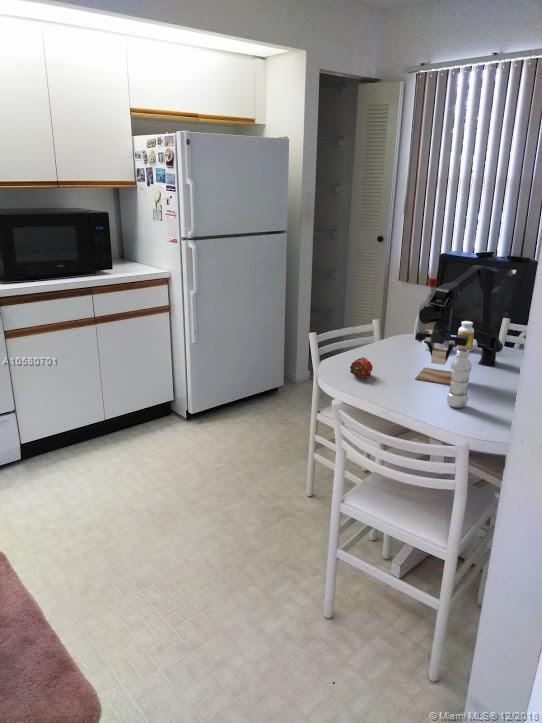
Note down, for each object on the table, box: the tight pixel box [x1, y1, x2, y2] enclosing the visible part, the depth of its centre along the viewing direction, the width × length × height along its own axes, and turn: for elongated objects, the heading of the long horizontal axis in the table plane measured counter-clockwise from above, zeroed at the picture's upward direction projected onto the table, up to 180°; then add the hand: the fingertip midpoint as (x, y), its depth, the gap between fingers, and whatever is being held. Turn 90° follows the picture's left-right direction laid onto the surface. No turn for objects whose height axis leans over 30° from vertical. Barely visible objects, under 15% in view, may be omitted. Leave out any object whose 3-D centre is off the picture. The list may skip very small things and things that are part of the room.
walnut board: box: [415, 367, 451, 386], centre depth 208 cm, size 14×14×1 cm
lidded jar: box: [421, 330, 446, 351], centre depth 241 cm, size 11×11×9 cm
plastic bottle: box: [446, 349, 473, 409], centre depth 178 cm, size 6×7×20 cm
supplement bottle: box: [456, 320, 475, 352], centre depth 238 cm, size 7×7×13 cm
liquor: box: [416, 277, 439, 343], centre depth 250 cm, size 9×9×30 cm
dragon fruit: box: [349, 356, 374, 379], centre depth 208 cm, size 8×8×12 cm
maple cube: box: [431, 347, 448, 366], centre depth 205 cm, size 5×5×5 cm
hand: (439, 359), depth 205 cm, fingers closed on maple cube, 5 cm apart
